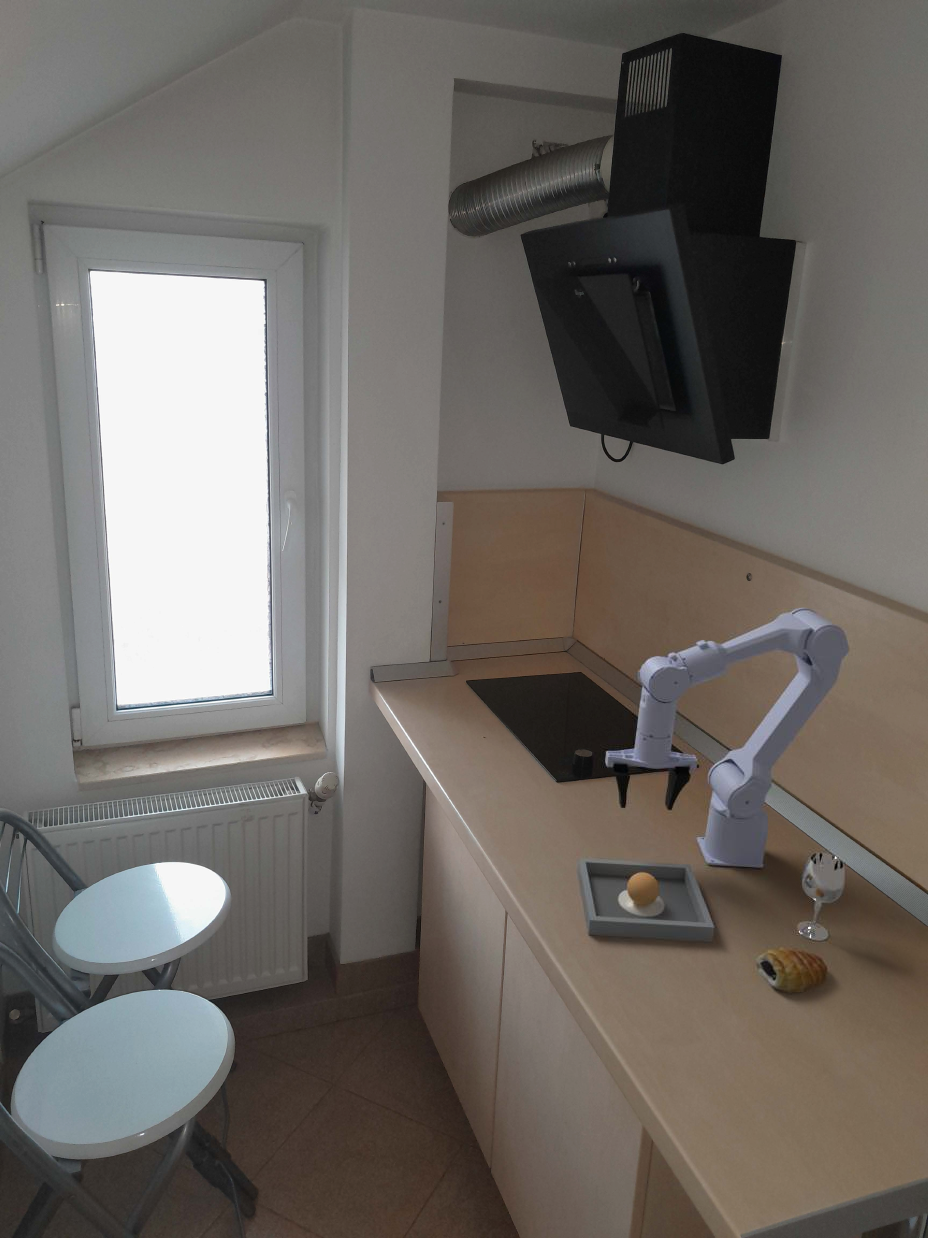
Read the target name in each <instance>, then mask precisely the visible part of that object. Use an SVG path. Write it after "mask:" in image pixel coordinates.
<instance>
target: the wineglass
mask: <svg viewBox="0 0 928 1238" xmlns="http://www.w3.org/2000/svg"><path fill="white" fill-rule="evenodd" d="M845 871H846V870H845V864H844V862H843V861H842V859H840V857H839V858H838V857H837V856H835V855H833V854H831V853H830V854H829V853H826V852H815V853H812V854H811V855H810V857H809V858H808V860H807V862H806V863H805V866H804V868H803V870H802V875H801V885H802V886H801V887H802V889H803V892H804V893H805V894H806V896H807V897H809V898H810V899H812V900H814V901H815V902H814V904H813V905H814V906H813V907H814V914H813V920H812V921H810V920H809V921H807V920H806V921H805V920H804V921H801V922H799V923H797V927H796V929H797V931H798V933H799V934H800V935H801V936H803V937H805V939H810V940H812V941H816V942H817V941H819V942H821V941H826V940H827V939H828V938H829V932H828V929H826V928H825V927H824V926H823V925H820V923H817V920H818V915H819V912H820V911H821V909H822V907H823V906H822V905H823V904H830V903H834V902H835V901H837V900H838V899H840V897H841V895H842V893H843V892H844V888H845V881H846V879H845V877H846V875H845Z"/></svg>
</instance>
